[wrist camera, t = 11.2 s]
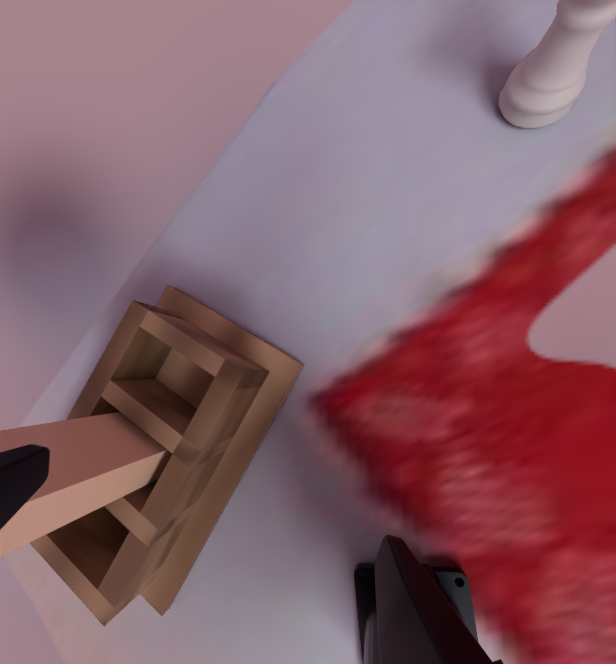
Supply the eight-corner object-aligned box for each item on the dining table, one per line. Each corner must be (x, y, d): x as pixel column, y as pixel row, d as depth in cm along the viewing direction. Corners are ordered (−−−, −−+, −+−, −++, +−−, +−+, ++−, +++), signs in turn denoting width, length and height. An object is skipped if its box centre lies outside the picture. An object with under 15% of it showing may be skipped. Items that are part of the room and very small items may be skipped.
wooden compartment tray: (304, 364, 21) (283, 362, 16) (169, 607, 21) (110, 674, 16) (174, 287, 24) (126, 268, 20) (58, 495, 24) (-16, 525, 20)
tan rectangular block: (194, 439, 21) (-44, 528, 9) (178, 469, 21) (-82, 597, 9) (151, 406, 23) (-109, 447, 10) (135, 434, 23) (-143, 508, 10)
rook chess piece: (482, 99, 21) (545, -65, 13) (545, 61, 20) (651, -136, 12) (519, 146, 20) (612, -1, 12) (587, 107, 19) (732, -75, 11)
